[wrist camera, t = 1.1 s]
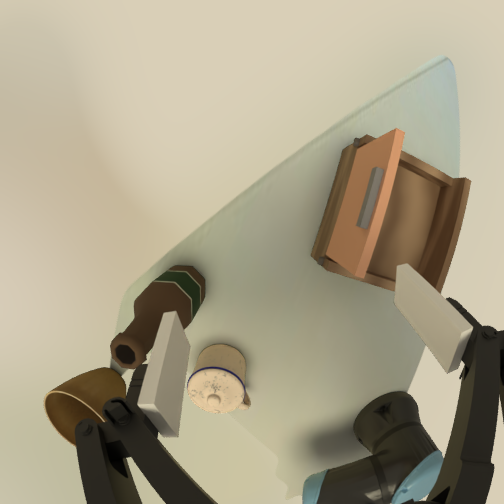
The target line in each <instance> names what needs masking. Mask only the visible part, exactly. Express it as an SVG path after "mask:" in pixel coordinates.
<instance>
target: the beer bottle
mask: <svg viewBox="0 0 504 504" xmlns="http://www.w3.org/2000/svg"><path fill="white" fill-rule="evenodd" d="M204 298H205V279H204V278H203V277H202V276H201V275H200V274H199V273H198V272H197V271H196V270H195V269H194V268H193V267H192V266H173V267H171V268H170V269H169V270H167V271H166V272H165V273H163V274H162V275H161V276H159V277H158V278H157V279H155V280H154V281H153V282H152V283H151V284H150V285H149V286H148V287H147V288H146V289H145V290H144V291H143V292H142V293H141V294H140V295H139V296H138V297H137V299H136V300H135V302H134V314H135V318H134V320H133V321H132V322H131V324H130V325H129V326H128V327H127V328H126V330H125V331H124V332H123V333H119V334H118V335H117V336H116V337H115V338H114V339H113V340H112V342H111V345H110V348H111V354H112V358H113V359H114V360H115V361H116V362H117V363H118V364H119V365H120V366H121V367H123V368H128V369H136V368H137V367H138V366H139V365H140V364H142V363H143V362H144V361H146V360H147V359H146V354H147V353H148V352H149V351H150V350H151V349H152V348H153V346H154V343H155V339H156V336H157V333H158V330H159V326H160V323H161V320H162V317H163V314H164V313H166V312H173V311H176V312H177V314H178V317H179V320H180V322H181V325H182V327H183V330H184V329H185V328H186V327H188V325H189V324H190V323H191V322H192V320H193V318H194V316H195V315H196V313H197V311H198V309H199V308H200V306H201V304H202V302H203V300H204Z"/></svg>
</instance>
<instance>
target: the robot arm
mask: <svg viewBox="0 0 504 504" xmlns="http://www.w3.org/2000/svg"><path fill="white" fill-rule="evenodd" d="M394 304H395V305H396V307H397V308H398V309H399V310H400V312H401V313H402V314H403V315H404V317H405V318H406V319H407V321H408V322H409V323H410V324H411V326H412V327H413V328H414V330H415V331H416V332H417V333H418V335H419V336H420V337H421V339H422V340H423V341H424V343H425V344H426V345H427V347H428V348H429V349H430V351H431V352H432V354H433V355H434V356H435V357H436V359H437V360H438V362H439V363H440V364H441V366H442V367H443V369H444V370H445V372H446V373H447V374H448V373H450V372H452V371H454V370H456V369H458V367H459V365H460V362H461V360H462V361H463V362H464V364H465V366H464V368H463V370H462V373H461V375H460V377H459V379H461V377H462V381H461V388H460V394H459V400H458V405H457V410H456V415H455V419H454V424H453V428H452V432H451V436H450V440H449V443H448V447H447V451H446V454H445V457H444V458H443V456H442V452H441V451H440V450H439V449H438V448H437V446H436V445H435V443H434V442H433V440H432V439H431V437H430V436H429V435H428V433H427V432H426V430H425V429H424V427H423V426H422V424H421V422H420V417H419V413H418V405H417V403H416V402H415V400H414V399H413V397H412V396H411V395H409V394H408V393H405V392H393V393H389V394H386V395H383V396H381V397H379V398H377V399H375V400H374V401H372V402H371V403H370V404H368V405H367V406H366V407H365V408H364V409H363V410H362V411H361V412H360V414H359V415H358V416H357V418H356V420H355V423H354V432H355V435H356V437H357V439H358V441H359V442H360V443H361V444H362V445H363V446H364V447H365V448H367V449H368V450H369V451H370V452H371V453H372V454H373V455H372V456H369V457H366V458H363V459H360V460H358V461H355V462H352V463H349V464H346V465H343V466H340V467H336V468H333V469H327V470H325V471H323V472H320V473H317V474H313V475H311V476H309V477H308V478H307V479H306V480H305V482H304V486H303V497H302V500H303V504H390V503H391V504H485V503H486V499H487V496H488V493H489V489H490V485H491V481H492V477H493V473H494V464H492V463H491V456H492V451H493V445H494V439H495V432H496V425H497V415H498V405H499V395H500V401H501V407H502V414H503V422H504V330H503V331H497V330H496V329H494V328H493V327H491V326H482V325H481V324H479V322H477V320H476V319H475V318H474V317H473V316H472V315H471V314H470V313H469V312H467V310H466V309H465V308H463V307H462V305H461V304H460V303H458V302H457V301H456V300H454V299H452V298H450V297H449V298H446V299H445V298H444V297H443V296H442V295H441V294H440V293H439V292H438V291H437V290H436V289H435V288H434V287H433V286H431V285H430V284H429V283H428V282H427V281H426V280H425V279H424V278H423V277H422V276H421V275H420V274H419V273H417V272H416V271H415V270H414V269H413V268H412V267H411V266H410V265H409V264H407V263H406V264H402V265H398V266H397V272H396V286H395V298H394ZM189 352H190V344H189V342H188V339H187V337H186V335H185V332H184V330H183V327H182V325H181V322H180V320H179V317H178V314H177V312H176V311H173V312H166V313H164V314H163V317H162V320H161V323H160V326H159V330H158V333H157V336H156V339H155V343H154V346H153V349H152V353H151V357H150V360H149V363H148V364H140V365H139V366H138V367H137V368H136V369H135V371H134V373H133V376H132V381H131V382H130V385H129V386H130V387H129V389H128V392H127V395H126V398H125V399H124V398H122V397H114V398H112V399H109V400H108V401H107V402H106V403H105V404H104V406H103V408H102V414H103V416H104V417H105V418H106V420H107V421H106V422H102V423H98V424H97V423H96V421H94V420H93V419H90V418H86V419H83V420H81V421H80V422H79V423H78V424H77V425H76V427H75V441H76V449H77V456H78V462H79V468H80V473H81V479H82V484H83V488H84V493H85V497H86V501H87V504H142V502H141V499H140V497H139V494H138V491H137V489H136V486H135V483H134V481H133V477H132V474H131V472H130V469H129V465H128V462H127V459H126V458H128V457H132V458H133V460H134V462H135V463H136V465H137V466H138V468H139V469H140V470H141V472H142V473H143V474H144V476H145V477H146V479H147V480H148V481H149V483H150V484H151V485H152V487H153V488H154V489H155V490H156V492H157V493H158V494H159V496H160V497H161V498H162V499H163V501H164V502H165V503H166V504H218V503H216V502H215V501H214V500H213V499H212V498H211V497H210V496H209V495H208V494H207V493H206V492H205V491H204V490H203V489H202V488H201V487H200V486H199V485H198V484H197V483H196V482H195V481H194V480H193V479H192V478H191V477H190V476H189V475H188V473H187V472H186V471H185V470H184V469H183V468H182V467H181V466H180V465H179V464H178V462H177V461H176V460H175V459H174V458H173V457H172V456H171V454H170V453H169V452H168V451H167V450H166V448H165V447H164V446H163V445H162V444H161V442H160V441H159V440H158V439H157V437H158V432H159V433H160V434H161V435H162V436H163V437H178V435H179V426H180V418H181V410H182V401H183V394H184V386H185V379H186V372H187V365H188V359H189ZM428 494H429V495H428ZM426 495H428V497H427V499H426V501H419V500H421V499H422V498H423V497H425V496H426Z"/></svg>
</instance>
